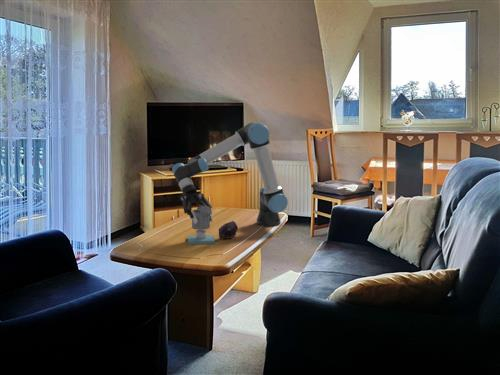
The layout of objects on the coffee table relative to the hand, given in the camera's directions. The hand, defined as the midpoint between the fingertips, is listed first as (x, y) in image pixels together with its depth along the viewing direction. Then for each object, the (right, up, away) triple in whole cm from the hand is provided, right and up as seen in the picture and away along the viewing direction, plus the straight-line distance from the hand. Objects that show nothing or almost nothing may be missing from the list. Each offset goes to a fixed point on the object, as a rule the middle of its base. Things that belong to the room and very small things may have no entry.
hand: (204, 221), depth 233 cm
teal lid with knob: (-2, -11, +4) cm, 12 cm away
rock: (+13, -10, +11) cm, 20 cm away
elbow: (-2, -3, +3) cm, 5 cm away
